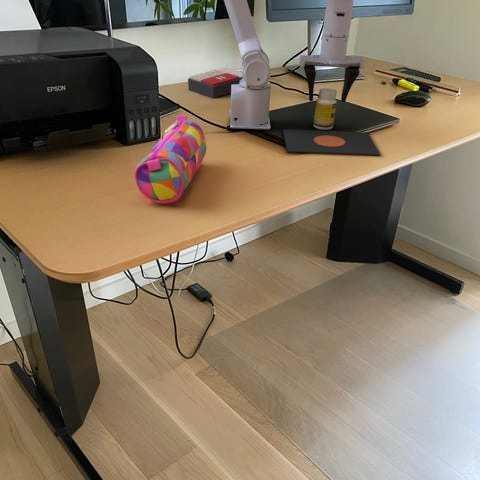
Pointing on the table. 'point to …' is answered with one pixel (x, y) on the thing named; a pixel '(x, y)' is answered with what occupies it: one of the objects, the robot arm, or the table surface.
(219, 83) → the red and black box
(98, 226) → the table surface
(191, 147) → the pencil case
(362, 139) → the desk mat
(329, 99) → the supplement bottle
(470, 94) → the table surface
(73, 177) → the table surface
